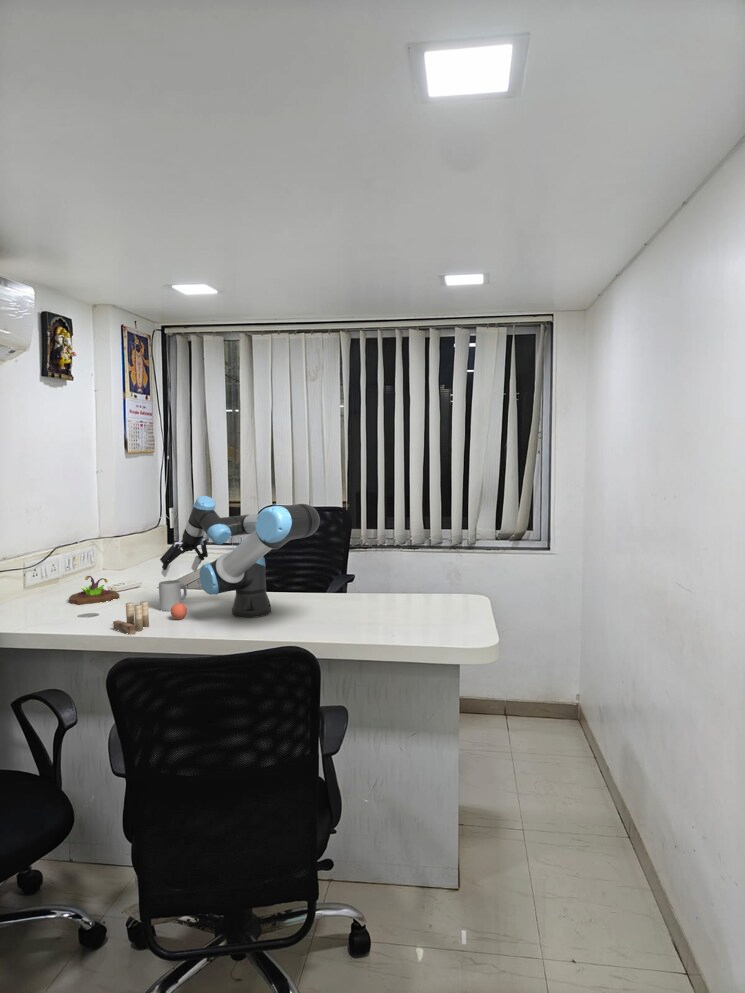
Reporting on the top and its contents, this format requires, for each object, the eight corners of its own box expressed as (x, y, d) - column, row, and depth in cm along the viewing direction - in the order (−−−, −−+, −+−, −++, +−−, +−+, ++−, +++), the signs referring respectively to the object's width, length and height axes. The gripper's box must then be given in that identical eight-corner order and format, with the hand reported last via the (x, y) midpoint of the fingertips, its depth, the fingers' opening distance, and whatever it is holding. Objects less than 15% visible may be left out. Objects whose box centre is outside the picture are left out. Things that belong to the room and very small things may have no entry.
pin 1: (135, 627, 237) (134, 603, 236) (129, 629, 235) (127, 604, 234) (132, 626, 239) (131, 602, 238) (125, 628, 237) (124, 603, 236)
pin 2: (144, 630, 233) (143, 605, 232) (137, 631, 231) (136, 606, 231) (140, 629, 235) (139, 604, 234) (134, 630, 233) (132, 605, 232)
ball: (190, 618, 249) (189, 602, 248) (176, 621, 244) (175, 605, 244) (181, 616, 253) (181, 600, 252) (167, 619, 248) (167, 603, 248)
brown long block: (135, 633, 229) (135, 625, 228) (130, 635, 227) (129, 626, 227) (118, 628, 237) (118, 620, 236) (113, 629, 235) (113, 621, 235)
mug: (168, 612, 260) (166, 585, 259) (155, 609, 265) (154, 583, 264) (193, 606, 269) (191, 580, 268) (180, 604, 274) (179, 578, 274)
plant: (64, 600, 291) (62, 575, 290) (109, 593, 302) (108, 569, 302) (75, 607, 275) (73, 581, 274) (123, 600, 287) (121, 575, 286)
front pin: (150, 626, 238) (149, 602, 237) (143, 628, 236) (142, 603, 235) (146, 625, 240) (145, 601, 239) (140, 627, 238) (138, 602, 237)
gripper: (216, 522, 264) (201, 561, 273) (161, 528, 246) (146, 570, 255) (226, 534, 260) (209, 573, 270) (170, 541, 242) (154, 583, 251)
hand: (178, 572), depth 262 cm, fingers open, 13 cm apart
